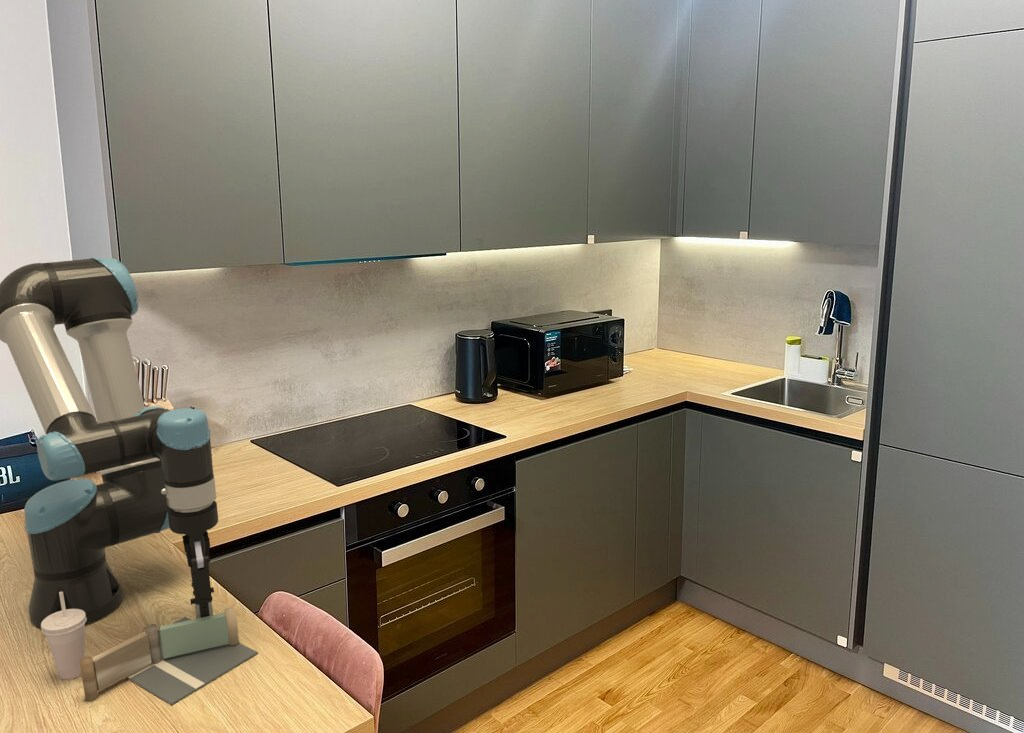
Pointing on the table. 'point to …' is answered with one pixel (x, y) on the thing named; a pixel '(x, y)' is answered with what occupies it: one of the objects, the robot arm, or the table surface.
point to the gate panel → (200, 633)
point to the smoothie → (66, 639)
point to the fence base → (120, 661)
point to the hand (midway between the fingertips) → (206, 632)
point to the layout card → (189, 670)
